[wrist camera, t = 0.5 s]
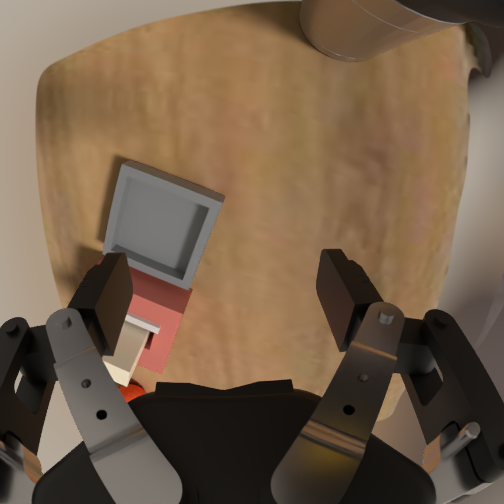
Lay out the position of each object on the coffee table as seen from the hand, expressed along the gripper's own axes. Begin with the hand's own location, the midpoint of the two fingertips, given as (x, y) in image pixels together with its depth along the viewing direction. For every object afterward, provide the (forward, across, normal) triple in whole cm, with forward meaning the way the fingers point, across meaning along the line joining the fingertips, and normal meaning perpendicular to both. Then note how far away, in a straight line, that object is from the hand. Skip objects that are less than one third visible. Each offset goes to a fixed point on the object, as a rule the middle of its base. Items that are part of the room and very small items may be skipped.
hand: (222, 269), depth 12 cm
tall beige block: (+20, +12, +19) cm, 31 cm away
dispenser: (+20, +12, +19) cm, 31 cm away
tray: (+21, +7, +7) cm, 23 cm away
